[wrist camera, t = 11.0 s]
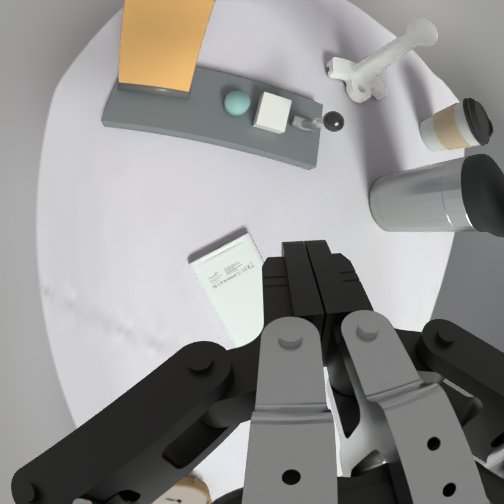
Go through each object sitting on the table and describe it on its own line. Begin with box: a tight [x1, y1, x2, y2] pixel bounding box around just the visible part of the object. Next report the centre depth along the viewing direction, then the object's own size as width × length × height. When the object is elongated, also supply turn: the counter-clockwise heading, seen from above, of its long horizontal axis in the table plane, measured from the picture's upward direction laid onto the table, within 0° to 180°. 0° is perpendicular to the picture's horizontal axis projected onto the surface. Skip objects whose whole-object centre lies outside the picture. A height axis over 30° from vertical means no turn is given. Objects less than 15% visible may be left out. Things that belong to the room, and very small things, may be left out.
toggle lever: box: [290, 111, 344, 133], centre depth 28 cm, size 3×2×10 cm
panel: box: [101, 67, 323, 170], centre depth 31 cm, size 28×10×2 cm, turn 79°
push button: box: [223, 91, 250, 117], centre depth 30 cm, size 3×3×2 cm
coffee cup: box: [420, 98, 493, 152], centre depth 36 cm, size 9×9×15 cm
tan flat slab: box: [117, 0, 216, 100], centre depth 22 cm, size 9×2×14 cm, turn 79°
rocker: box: [253, 92, 292, 134], centre depth 31 cm, size 4×4×2 cm
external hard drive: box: [189, 233, 264, 348], centre depth 34 cm, size 2×8×12 cm
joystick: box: [326, 17, 438, 103], centre depth 28 cm, size 11×8×20 cm
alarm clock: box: [151, 476, 212, 504], centre depth 31 cm, size 11×5×15 cm
